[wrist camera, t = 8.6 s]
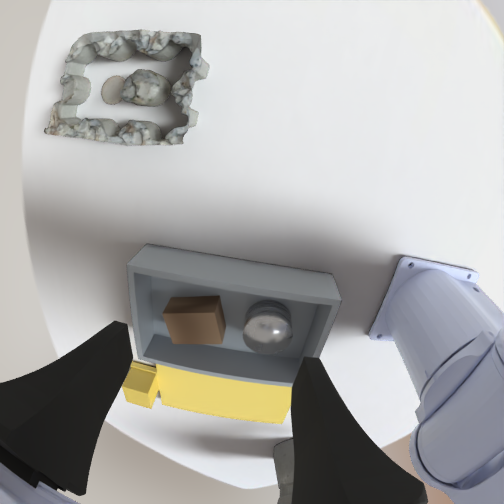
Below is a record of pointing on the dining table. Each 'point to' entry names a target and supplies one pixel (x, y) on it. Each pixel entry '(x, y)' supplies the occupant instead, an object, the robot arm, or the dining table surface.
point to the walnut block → (195, 320)
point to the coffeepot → (284, 469)
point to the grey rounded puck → (268, 327)
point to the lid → (207, 394)
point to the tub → (228, 312)
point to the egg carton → (127, 86)
